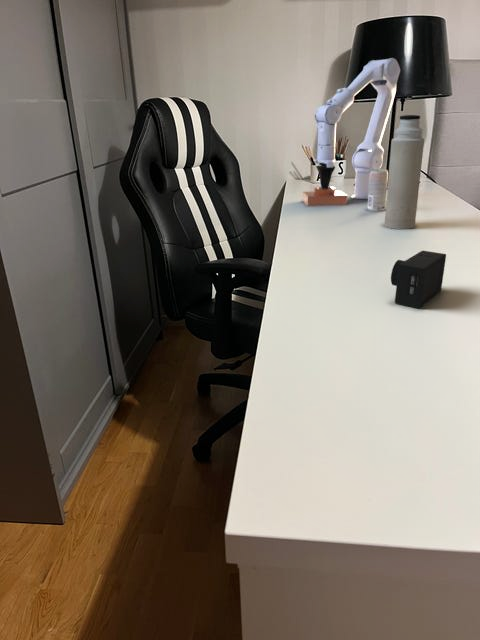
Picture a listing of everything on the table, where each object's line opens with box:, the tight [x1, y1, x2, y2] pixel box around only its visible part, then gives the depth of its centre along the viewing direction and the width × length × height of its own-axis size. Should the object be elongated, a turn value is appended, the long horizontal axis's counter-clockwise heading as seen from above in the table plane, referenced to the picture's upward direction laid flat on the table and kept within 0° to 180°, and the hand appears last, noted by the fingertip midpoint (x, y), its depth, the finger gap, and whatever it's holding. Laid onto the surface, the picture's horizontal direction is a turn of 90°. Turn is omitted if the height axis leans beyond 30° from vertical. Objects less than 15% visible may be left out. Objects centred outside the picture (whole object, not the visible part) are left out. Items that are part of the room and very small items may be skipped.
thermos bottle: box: [383, 114, 425, 230], centre depth 131 cm, size 8×8×28 cm
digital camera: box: [390, 250, 447, 310], centre depth 86 cm, size 10×5×7 cm, turn 141°
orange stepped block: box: [302, 186, 348, 207], centre depth 169 cm, size 13×10×5 cm
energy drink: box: [366, 168, 389, 212], centre depth 155 cm, size 5×5×12 cm
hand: (324, 187), depth 168 cm, fingers closed, pressing on lid button
